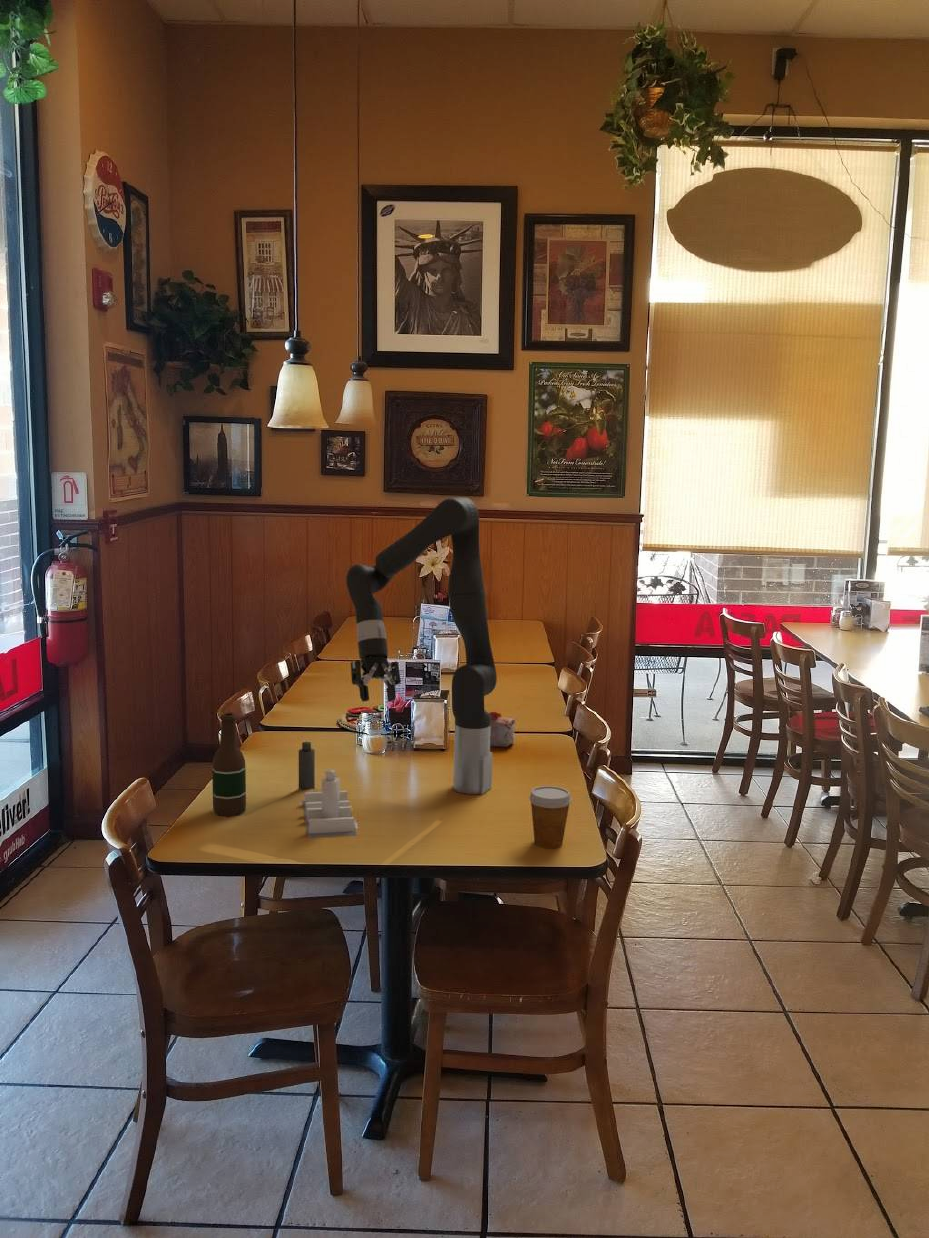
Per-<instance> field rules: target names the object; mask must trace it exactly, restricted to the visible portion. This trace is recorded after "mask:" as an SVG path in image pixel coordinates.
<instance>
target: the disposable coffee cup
mask: <svg viewBox="0 0 929 1238" xmlns="http://www.w3.org/2000/svg"><path fill="white" fill-rule="evenodd" d="M528 798H529V801H530V805H531V817H532V828H533V837H534V838H533V839H534V844H535V846H537V847H540V848H543V849H556V848H557V849H558V848H560V847H561V846H563V842H564V837H565V830H566V827H567V826H566V823H567V819H568V814H569V809H570V808H569V807H570V804H571V802H572V801H573V800H572V796H571V793H570V791H569V790H568V789H566V788H564V787H560V786H555V785H554V786H553V785H542V786H537V787H534V788H532V789H531V792H530V794H529V795H528Z"/></svg>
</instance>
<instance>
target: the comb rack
mask: <svg viewBox="0 0 929 1238" xmlns="http://www.w3.org/2000/svg"><path fill="white" fill-rule="evenodd" d="M301 801H302V809H303V815H304V822H305V829H306V836H307V839H316V838H335V837H353V836H355V837H356V836H358V833H357V830H358V829H359V826H358V823H357V820H355V816H353V813H352V812H354V808H353V805H352V803H351V802H350V799H348V791H347V790H339V818H323V819H322V791H306V792H304V800H301ZM350 803H351V804H350Z"/></svg>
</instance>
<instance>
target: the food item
mask: <svg viewBox="0 0 929 1238" xmlns="http://www.w3.org/2000/svg"><path fill="white" fill-rule="evenodd" d="M488 713H489V714H490V716H491V728H490V747H498V748H508V747H509V746H511V745H513V744H514V742H515V730H516V729H515V726H516V722H517V720H516V718H512V717H511V718H510V717H505V716H504V717H502V713H500V712H497V711H490V712H488Z"/></svg>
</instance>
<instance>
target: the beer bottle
mask: <svg viewBox="0 0 929 1238" xmlns="http://www.w3.org/2000/svg"><path fill="white" fill-rule="evenodd" d="M219 720H221V721H220V723H221V724H220V741H219V746H218V748H217V750H216V751H215V753H214V755H213V758H212V766H211V771H212V772H211V773H212V775H211V777H212V809H213V812H214V813H215V815H217V817H218V816H220V817H226V818H229V817H235V816H240V815H241V814H243V813H244V812H246V810H247V809H246V808H247V807H246V806H247V787H246V786H247V784H246V782H247V781H246V779H247V777H246V776H247V775H246V773H247V771H246V768H247V766H246V759H245V756H244V754H243V752H242V751H241V749H240V748H239V746H238V740H237V739H238V737H237V728H236V726H237V725H236V720H237V715H236V714H235V713H232V712H225V713H222V714H221V715H220V718H219Z"/></svg>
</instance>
